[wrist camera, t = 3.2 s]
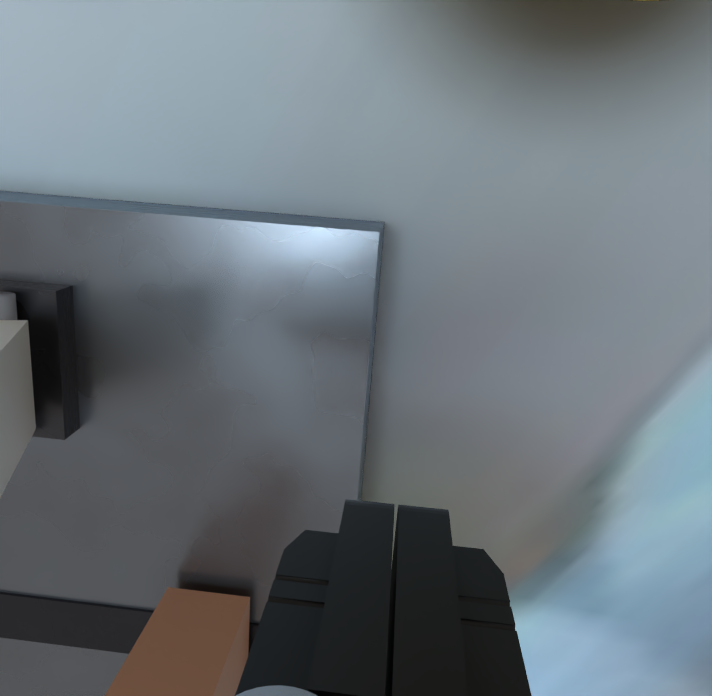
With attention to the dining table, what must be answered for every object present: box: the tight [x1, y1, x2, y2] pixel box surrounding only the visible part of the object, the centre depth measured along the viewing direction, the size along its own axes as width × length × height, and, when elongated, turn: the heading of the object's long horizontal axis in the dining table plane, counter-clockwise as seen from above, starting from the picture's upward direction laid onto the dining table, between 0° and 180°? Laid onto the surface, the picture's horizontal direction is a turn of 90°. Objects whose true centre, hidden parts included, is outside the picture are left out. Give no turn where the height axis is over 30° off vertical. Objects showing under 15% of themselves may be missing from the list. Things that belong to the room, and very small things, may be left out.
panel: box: [0, 191, 384, 696], centre depth 20 cm, size 16×25×4 cm, turn 176°
